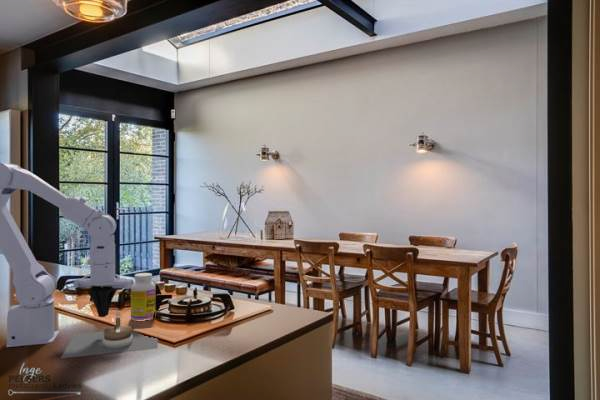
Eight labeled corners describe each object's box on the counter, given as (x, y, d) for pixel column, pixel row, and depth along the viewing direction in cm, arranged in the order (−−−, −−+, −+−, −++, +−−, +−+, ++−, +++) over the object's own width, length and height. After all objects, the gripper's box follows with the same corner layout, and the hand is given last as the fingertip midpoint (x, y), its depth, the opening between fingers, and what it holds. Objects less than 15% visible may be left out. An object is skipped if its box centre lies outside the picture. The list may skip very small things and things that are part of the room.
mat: (60, 359, 91) (60, 358, 91) (74, 335, 106) (74, 334, 106) (157, 349, 98) (157, 347, 98) (157, 327, 113) (157, 326, 113)
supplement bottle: (147, 323, 116) (147, 277, 116) (125, 321, 117) (125, 276, 117) (160, 316, 123) (160, 272, 122) (139, 314, 124) (139, 271, 124)
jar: (101, 349, 96) (101, 342, 96) (105, 339, 102) (105, 333, 102) (131, 346, 98) (131, 339, 98) (133, 337, 105) (133, 330, 104)
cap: (131, 338, 99) (131, 322, 99) (103, 342, 96) (103, 325, 96) (130, 323, 110) (130, 309, 109) (105, 326, 107) (105, 311, 107)
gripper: (137, 260, 110) (138, 312, 110) (85, 259, 111) (85, 310, 111) (124, 265, 103) (124, 320, 103) (68, 264, 104) (68, 318, 104)
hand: (103, 315), depth 107 cm, fingers closed
